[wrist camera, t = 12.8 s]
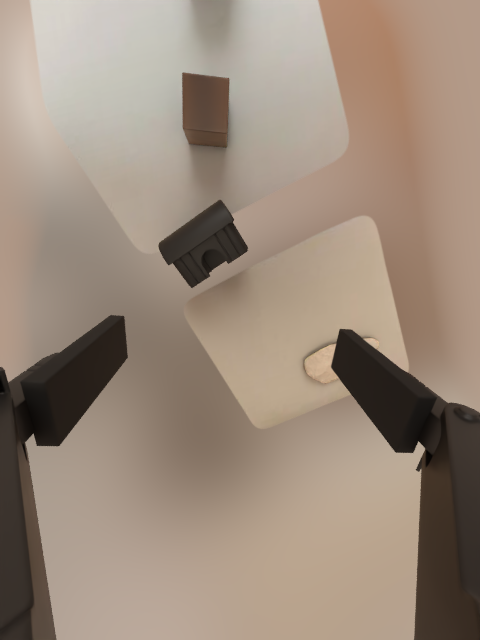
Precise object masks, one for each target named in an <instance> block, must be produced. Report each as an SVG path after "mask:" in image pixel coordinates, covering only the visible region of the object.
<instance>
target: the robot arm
mask: <svg viewBox="0 0 480 640" xmlns="http://www.w3.org/2000/svg"><path fill="white" fill-rule="evenodd" d="M127 358H128V356H127V344H126V333H125V320H124V316H114V315H111V316H109V317H108V318H106V319H105V320H104V321H102V322H101V323H99V324H98V325H97V326H95V327H94V328H93V329H91V330H90V331H89V332H87V333H86V334H84V335H83V336H82V337H80V338H79V339H78V340H76V341H75V342H73V343H72V344H71V345H69V346H68V347H67V348H65V349H64V350H63V351H62V352H60V353H55V354H52V355H50V356H47V357H45V358H43V359H42V360H40V361H39V362H37V363H36V364H35V365H34V366H32V367H30V368H29V369H27V371H24V372H23V373H21V374H20V375H19V376H17V377H16V378H14V379H13V380H12V381H10V382H9V383H8V381H7V377H6V374H5V370H4V369H3V368H2V367H0V640H56V635H55V628H54V622H53V615H52V608H51V602H50V596H49V590H48V583H47V576H46V570H45V564H44V556H43V550H42V543H41V537H40V531H39V524H38V518H37V511H36V505H35V498H34V492H33V485H32V479H31V472H30V466H29V460H28V453H27V448H26V444H25V442H26V441H27V440H28V439H29V437H30V436H31V435H32V434H33V433H34V436H35V440H36V444H37V446H60V444H61V443H62V442H63V440H64V439H65V438H66V437H67V435H68V434H69V433H70V431H71V430H72V429H73V427H74V426H75V425H76V424H77V422H78V421H79V420H80V419H81V417H82V416H83V415H84V413H85V412H86V411H87V409H88V408H89V407H90V406H91V404H92V403H93V402H94V400H95V399H96V398H97V397H98V395H99V394H100V393H101V391H102V390H103V389H104V388H105V386H106V385H107V383H108V382H109V381H110V380H111V378H112V377H113V376H114V375H115V373H116V372H117V371H118V369H119V368H120V367H121V366H122V364H123V363H124V362H125V360H126V359H127ZM331 368H332V370H333V371H334V372H335V374H336V375H337V376H338V378H339V379H340V380H341V381H342V383H343V384H344V385H345V387H346V388H347V389H348V391H349V392H350V393H351V395H352V396H353V397H354V398H355V400H356V401H357V402H358V404H359V405H360V406H361V408H362V409H363V410H364V412H365V413H366V414H367V416H368V417H369V418H370V419H371V421H372V422H373V423H374V425H375V426H376V427H377V428H378V430H379V431H380V432H381V434H382V435H383V436H384V438H385V439H386V440H387V442H388V443H389V444H390V446H391V447H392V448H393V449H394V451H395V452H396V453H397V452H398V453H413V452H414V450H415V447H416V445H417V443H418V441H419V442H420V443H421V444H422V445H423V446H424V447H425V451H424V453H423V456H422V458H421V460H420V462H419V464H418V467H417V469H416V470H417V471H420V469H422V473H421V496H420V519H419V520H420V521H419V542H418V567H417V589H416V591H417V592H416V613H415V636H414V640H480V413H479V412H477V411H476V410H474V409H472V408H469V407H467V406H464V405H461V404H457V403H447V402H446V401H444V400H443V399H442V398H441V397H439V396H438V395H437V394H435V393H434V392H433V391H431V390H430V389H429V388H428V387H425V385H424V384H423V383H421V382H419V381H418V380H417V379H416V378H415V377H413V376H412V375H411V374H409V373H407V372H406V371H404V370H402V369H401V368H399V367H398V366H397V365H395V364H394V363H393V362H392V361H390V360H389V359H388V358H387V357H385V356H384V355H383V354H382V353H380V352H379V351H378V350H377V349H375V348H374V347H373V346H372V345H370V344H369V343H368V342H366V341H365V340H364V339H363V338H361V337H360V336H359V335H358V334H356V333H355V332H354V331H353V330H348V329H340V331H339V335H338V339H337V343H336V347H335V351H334V355H333V360H332V364H331Z"/></svg>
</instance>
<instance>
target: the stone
mask: <svg viewBox="0 0 480 640" xmlns="http://www.w3.org/2000/svg"><path fill="white" fill-rule="evenodd" d="M363 339H364V338H363ZM364 340H365V341H366V342H368V343H369V344H370V345H372V346H373V347H374V348H375V349H378V347H379V342H378V340H376V339H373V338H365V339H364ZM335 347H336V344H331V345H329V346H327V347H325V348H322V349H320V350H319V351H317V352H315V353H314V354H312V355H310V356H309V357H308V358H307V359H306V360H305V361H304V363H305V364H304V366H305V370H306V372H307V374H308V375H309V376H310V377H312V378H313V379H316V380H319V381H320V382H322V383H329V382H331V381H334V380H336V379H339V378H338V376H337V375H336V374H335V372H334V371H333V370H332V368H331V364H332V360H333V355H334V351H335Z"/></svg>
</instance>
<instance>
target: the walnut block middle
mask: <svg viewBox="0 0 480 640" xmlns="http://www.w3.org/2000/svg"><path fill="white" fill-rule="evenodd" d="M182 87H183V130H184V132H185V135H186V137H187V140H188V142H189V144H197V145H207V146H217V147H227V129H228V106H229V78H223V77H215V76H207V75H199V74H191V73H182Z"/></svg>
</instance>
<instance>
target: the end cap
mask: <svg viewBox="0 0 480 640" xmlns="http://www.w3.org/2000/svg"><path fill="white" fill-rule="evenodd" d="M233 221H234V219H233V217H232V215H231V214H230V212H229V210H228V209H227V207H226V206H225V204H224V203H223V202H222V201H221V200H218V201H217V202H216V203H214V204H213V205H211V206H210V207H209V208H207V209H206V210H204V211H203V212H202V213H200V214H199V215H197V216H196V217H195V218H193V219H192V220H190V221H189V222H188V223H186V224H185V225H183V226H182V227H181V228H179V229H178V230H176V231H175V232H174V233H172V234H171V235H169V236H168V237H167V238H165V239H164V240H162V241H161V242H160V243H159V250H160V252H161V254H162V256H163V258H164V259H165V261H166V262H167V264H168V265H170V264H172V263H173V264H174V265H175V267H176V268H177V269H178V271H179V272H180V273H181V275H182V276H183V278H184V279H185V280H186V282H187V283H188V284H189V286H191V288H193V287H194V286H196V285H197V284H199V283H200V282H202V281H203V280H205V279H207V278H208V277H210V275H209V272H211V271H212V270H213V269H214V268H216V267H217V266H219V265H220V264H222V263H223V262H225V261H227V263H228V264H229V263H230V262H232V261H234V260H235V259H237V258H238V257H240V256H241V255H243V254H244V253H245V252H247V249H248V247H247V245H246V244H245V242H244V240H243V239H242V237H241V235H240V234H239V232H238V230H237V229H236V227H235V226H234V224H233Z"/></svg>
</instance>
